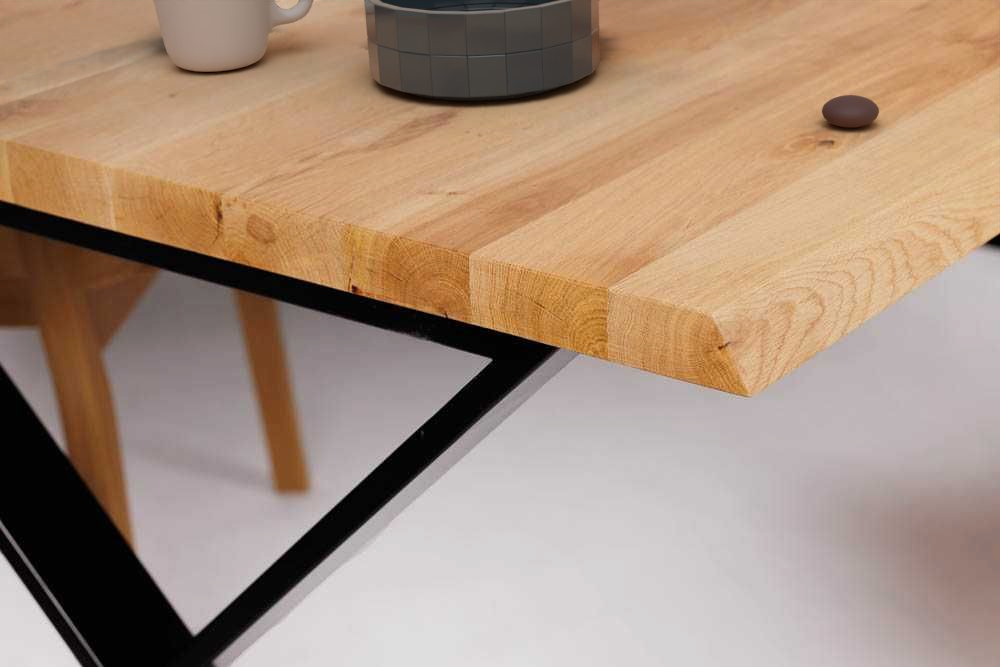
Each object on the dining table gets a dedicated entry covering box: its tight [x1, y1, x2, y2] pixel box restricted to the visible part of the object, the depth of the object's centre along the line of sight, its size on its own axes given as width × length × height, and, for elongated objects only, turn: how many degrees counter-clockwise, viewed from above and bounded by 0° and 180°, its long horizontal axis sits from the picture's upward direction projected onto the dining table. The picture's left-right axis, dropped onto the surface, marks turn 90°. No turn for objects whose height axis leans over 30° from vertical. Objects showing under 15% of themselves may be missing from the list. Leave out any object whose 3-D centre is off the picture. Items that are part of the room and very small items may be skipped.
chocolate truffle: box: [821, 94, 880, 128], centre depth 78 cm, size 3×3×2 cm
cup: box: [153, 0, 314, 73], centre depth 95 cm, size 11×8×8 cm
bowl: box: [363, 0, 601, 102], centre depth 89 cm, size 14×14×6 cm
